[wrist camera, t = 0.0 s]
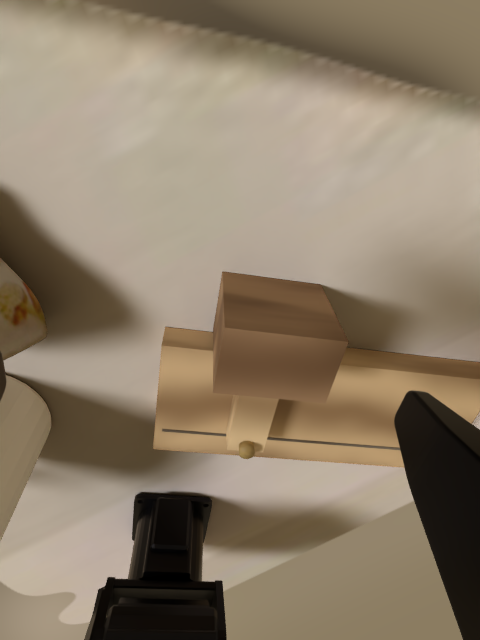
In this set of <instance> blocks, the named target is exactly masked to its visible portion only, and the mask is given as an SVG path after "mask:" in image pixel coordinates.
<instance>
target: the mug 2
mask: <svg viewBox="0 0 480 640" xmlns="http://www.w3.org/2000/svg"><path fill="white" fill-rule="evenodd" d="M50 429H51V413H50V411H49V409H48V407H47V404H46V403H45V401H44V400H43V399H42V398H41V396H40V395H39V394H38V393H37V392H36V391H34V390H33V389H32V388H30V387H29V386H28V385H27V384H25V383H23V382H21V381H19V380H17V379H15V378H13V377H11V376H7V375H6V388H5V391H4V394H3V396H2V399H1V401H0V541H1V539H2V537H3V534H4V532H5V530H6V528H7V526H8V523H9V521H10V519H11V517H12V515H13V512H14V510H15V508H16V506H17V504H18V501H19V499H20V497H21V495H22V492H23V490H24V488H25V486H26V484H27V481H28V479H29V477H30V475H31V473H32V470H33V468H34V466H35V464H36V462H37V459H38V457H39V455H40V453H41V451H42V448H43V446H44V444H45V442H46V440H47V437H48V435H49V432H50Z"/></svg>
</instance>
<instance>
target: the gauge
mask: <svg viewBox="0 0 480 640" xmlns="http://www.w3.org/2000/svg"><path fill="white" fill-rule="evenodd" d="M348 343H349V341H348V339H347V337H346V335H345V333H344V331H343V329H342V327H341V325H340V323H339V321H338V319H337V317H336V315H335V313H334V311H333V308H332V306H331V304H330V302H329V300H328V298H327V296H326V294H325V292H324V290H323V288H322V286H321V285H319V284H311V283H304V282H296V281H289V280H282V279H274V278H267V277H259V276H252V275H244V274H237V273H229V272H222V278H221V284H220V290H219V297H218V303H217V309H216V315H215V321H214V327H213V393H219V394H229V395H233V399H232V404H231V409H230V413H229V418H228V422H227V427H226V440H227V450H236V451H239V455H240V457H241V458H244V459H249V458H252V457H253V456H254V455H255V452H263V451H264V448H265V444H266V441H267V437H268V434H269V431H270V427H271V424H272V420H273V417H274V414H275V410H276V407H277V403H278V400H279V399H283V400H294V401H305V402H315V403H326V401H327V398H328V396H329V393H330V390H331V388H332V385H333V382H334V380H335V377H336V374H337V372H338V369H339V366H340V364H341V361H342V358H343V356H344V353H345V351H346V348H347V345H348Z"/></svg>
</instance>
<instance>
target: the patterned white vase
mask: <svg viewBox="0 0 480 640" xmlns="http://www.w3.org/2000/svg"><path fill="white" fill-rule="evenodd" d="M47 333H48V331H47V327H46V322H45V317H44V313H43V311H42V308H41V306H40V304H39V302H38V300H37V298H36V297H35V295H34V294H33V293H32V291H31V290H30V288H29V287H28V286H27V285H26V284H25V283H24V281H23V280H22V279H21V278H20V277H19V276H18V275H17V274H16V273H15V272H14V271H13V270H12V269H11V268H10V267H9V266H8V265H7V264H6V263H5V262H4V261H3V260H2V259H1V258H0V351H1V353H2V356H3V360H5V359H7V358H9V357H11V356H14V355H16V354H17V353H19V352H21V351H23V350H25V349H27V348H29V347H30V346H32V345H34V344H36V343H38V342H39V341H41V340H43V339H44V338H46V336H47Z"/></svg>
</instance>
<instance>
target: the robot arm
mask: <svg viewBox="0 0 480 640" xmlns="http://www.w3.org/2000/svg"><path fill="white" fill-rule="evenodd" d="M5 388H6V374H5V368H4V362H3V356H2V353H1V351H0V401H1V399H2V396H3V394H4V391H5ZM394 425H395V430H396V434H397V438H398V442H399V447H400V451H401V455H402V459H403V463H404V467H405V472H406V476H407V479H408V483H409V486H410V489H411V492H412V496H413V498H414V501H415V504H416V507H417V510H418V512H419V515H420V518H421V521H422V524H423V527H424V529H425V532H426V535H427V538H428V541H429V544H430V547H431V550H432V552H433V555H434V558H435V561H436V564H437V566H438V569H439V572H440V575H441V578H442V581H443V584H444V586H445V589H446V592H447V595H448V598H449V600H450V603H451V606H452V609H453V612H454V615H455V618H456V620H457V623H458V626H459V629H460V632H461V635H462V638H463V640H480V430H479V429H478V428H476V427H475V426H474V425H472V424H471V423H469V422H468V421H467V420H465V419H464V418H462V417H461V416H460V415H458V414H457V413H456V412H454V411H453V410H451V409H450V408H449V407H447V406H446V405H444V404H443V403H442V402H440V401H439V400H437V399H436V398H435V397H433V396H432V395H431V394H429V393H427V392H424V391H414V390H411V391H408V392H407V393H406V395H405V397H404V398H403V400H402V402H401V404H400V406H399V408H398V410H397V412H396V414H395V418H394ZM211 507H212V500H211V499H210V498H205V497H188V496H170V495H153V494H137V495H136V496H135V500H134V514H133V532H132V540H133V541H134V546H133V552H132V558H131V564H130V570H129V576H128V579H115V577H108V579H107V583H106V585H105V587H103V588H100V589H98V593H97V598H96V602H95V607H94V611H93V615H92V618H91V621H90V624H89V627H88V630H87V633H86V636H85V639H84V640H226V624H225V611H224V598H223V584H222V581H216V580H215V582H205V581H202V555H203V542H204V539H205V535H206V530H207V525H208V521H209V516H210V512H211Z"/></svg>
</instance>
